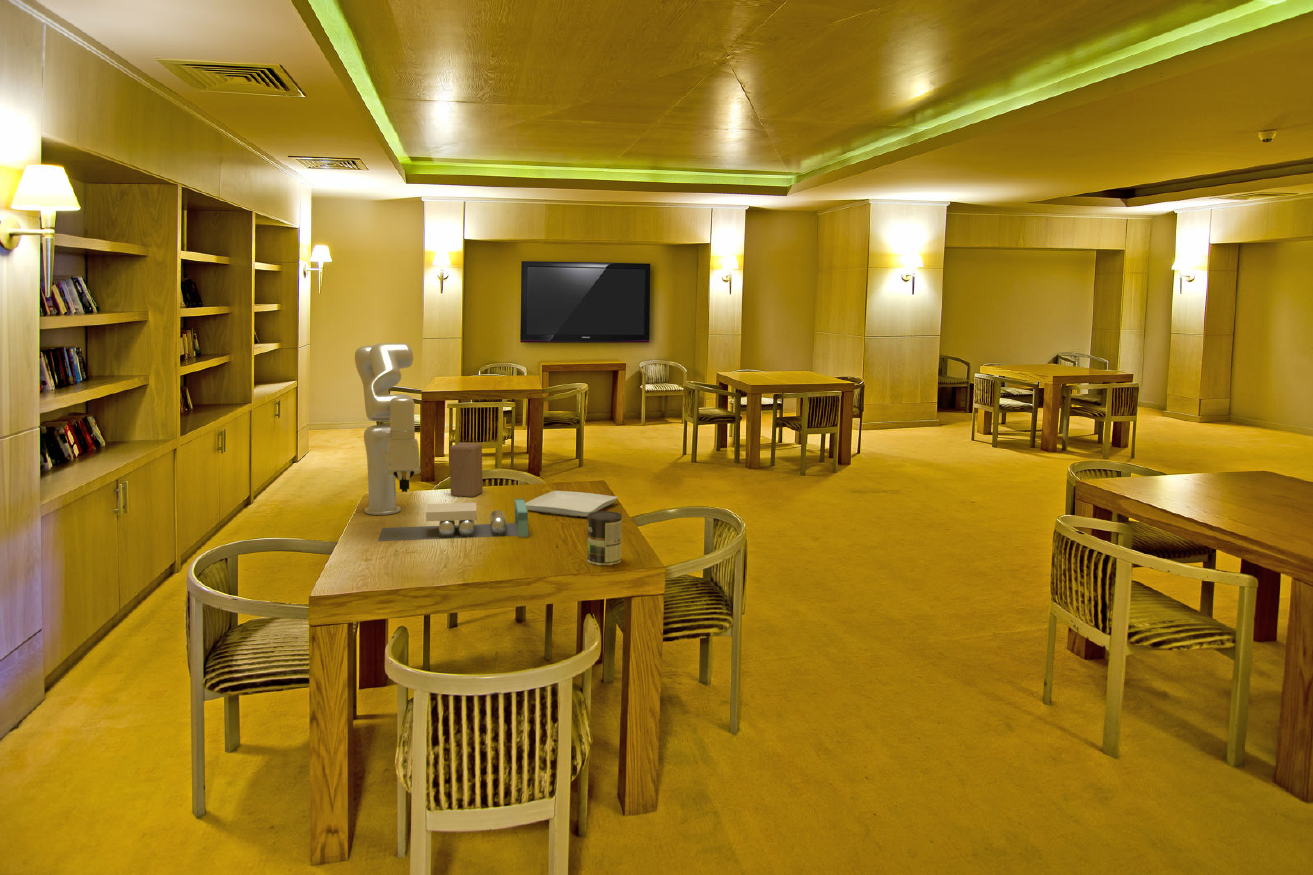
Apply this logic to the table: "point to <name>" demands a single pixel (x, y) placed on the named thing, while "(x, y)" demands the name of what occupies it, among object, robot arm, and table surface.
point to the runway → (480, 529)
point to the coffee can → (604, 538)
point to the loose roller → (498, 523)
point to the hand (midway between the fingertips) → (404, 491)
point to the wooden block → (466, 469)
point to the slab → (451, 512)
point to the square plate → (570, 503)
